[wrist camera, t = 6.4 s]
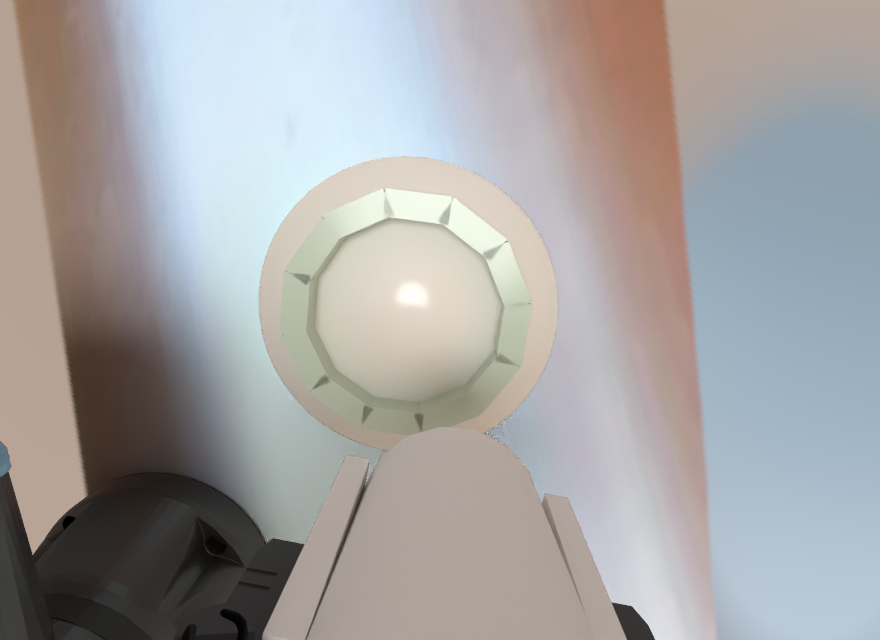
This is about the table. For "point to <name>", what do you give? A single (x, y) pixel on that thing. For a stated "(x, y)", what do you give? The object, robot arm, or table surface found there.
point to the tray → (407, 301)
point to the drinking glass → (450, 551)
